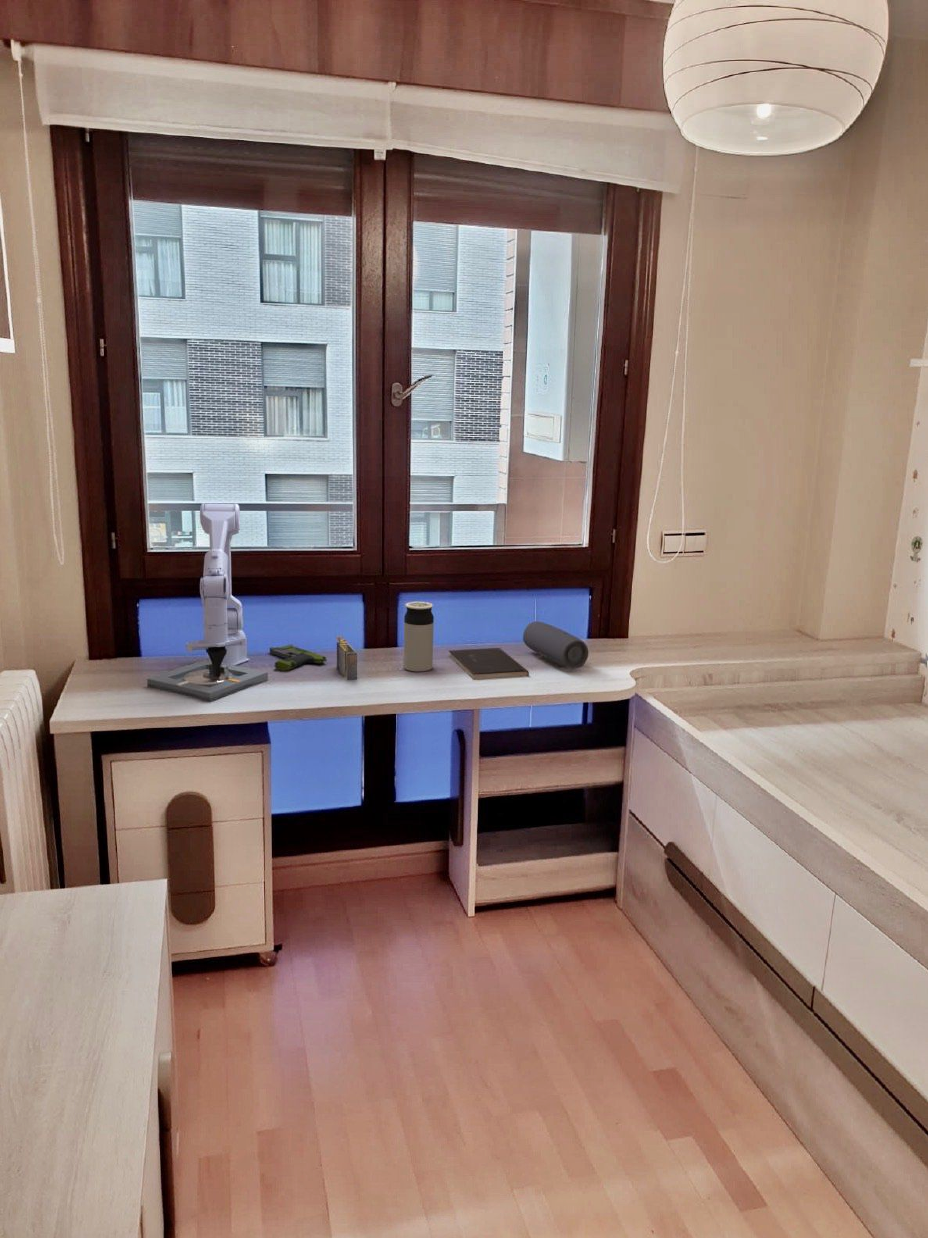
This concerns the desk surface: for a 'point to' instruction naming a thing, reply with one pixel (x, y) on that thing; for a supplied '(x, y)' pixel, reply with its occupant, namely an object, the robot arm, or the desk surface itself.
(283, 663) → the gun
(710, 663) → the desk surface
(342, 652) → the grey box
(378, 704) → the desk surface
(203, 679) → the dial
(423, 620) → the travel mug
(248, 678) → the dial plate
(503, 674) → the hardcover book
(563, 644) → the bluetooth speaker
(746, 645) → the desk surface
